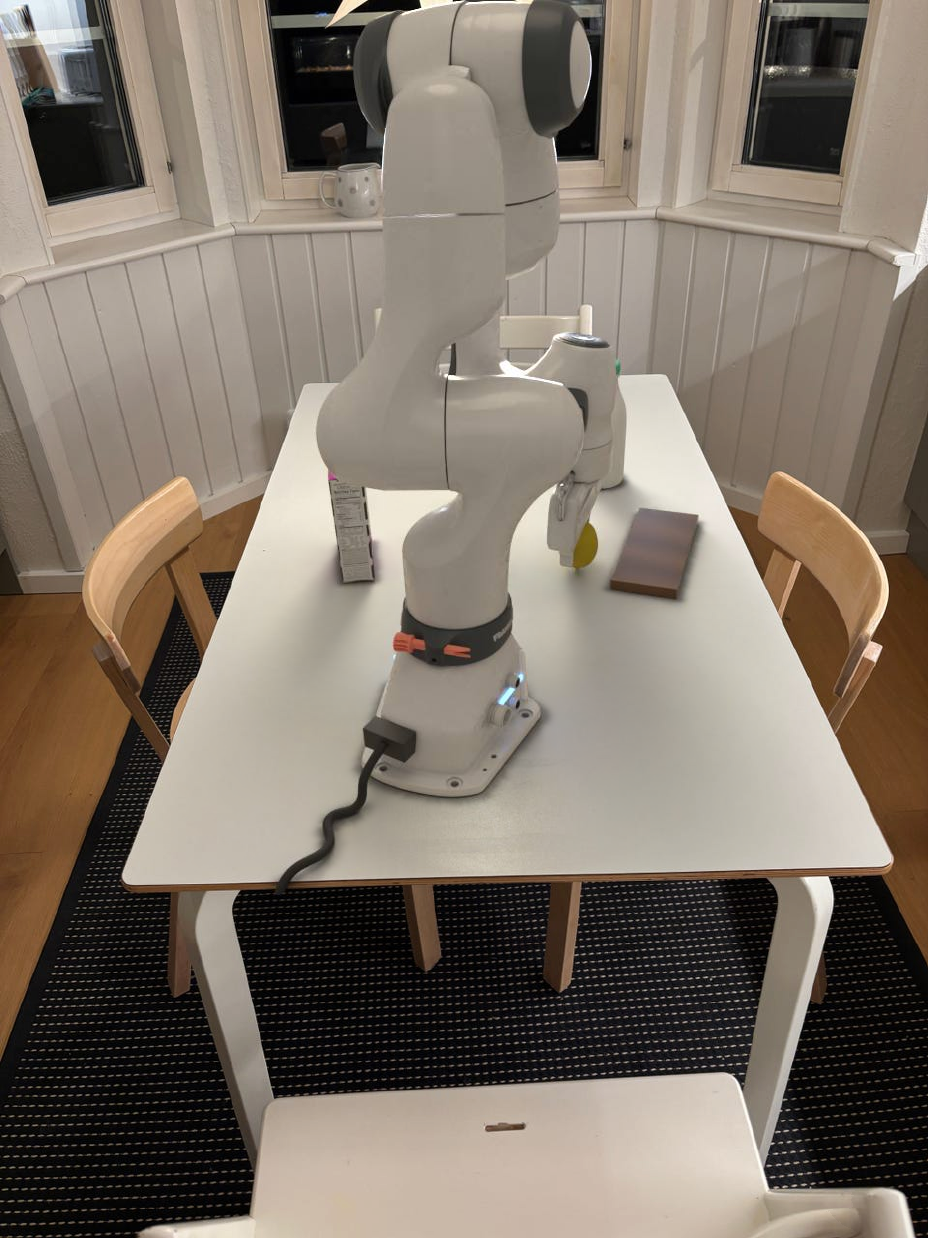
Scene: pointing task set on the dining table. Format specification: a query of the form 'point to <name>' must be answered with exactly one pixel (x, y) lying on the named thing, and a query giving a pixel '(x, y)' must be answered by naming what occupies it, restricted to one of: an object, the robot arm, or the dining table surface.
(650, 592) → the serving board
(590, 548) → the lemon
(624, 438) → the milk bottle
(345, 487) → the candy bar box
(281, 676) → the dining table surface
